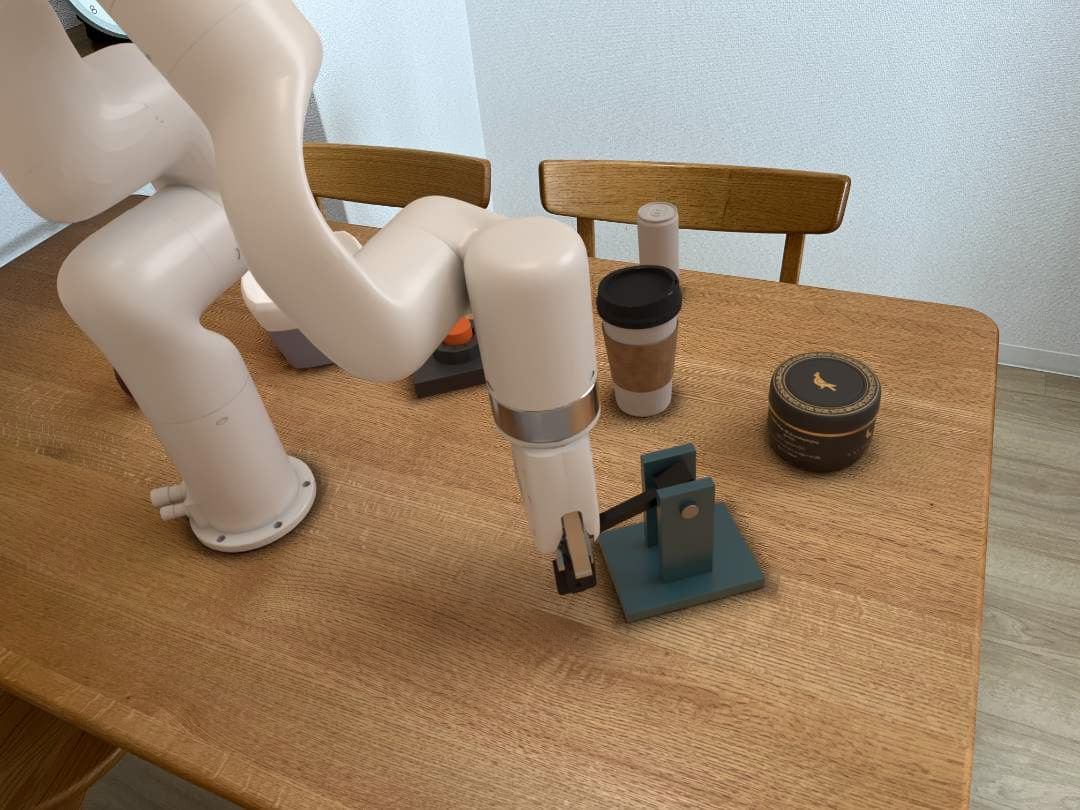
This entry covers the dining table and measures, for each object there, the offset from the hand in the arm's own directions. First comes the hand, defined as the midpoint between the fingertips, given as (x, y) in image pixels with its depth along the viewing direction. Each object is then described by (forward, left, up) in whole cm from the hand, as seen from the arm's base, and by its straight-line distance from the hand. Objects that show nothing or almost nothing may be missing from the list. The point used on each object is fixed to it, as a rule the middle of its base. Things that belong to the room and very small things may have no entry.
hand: (568, 559), depth 67 cm
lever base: (+10, 0, -4) cm, 10 cm away
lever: (+6, 0, +3) cm, 6 cm away
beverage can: (+22, +40, -5) cm, 46 cm away
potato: (-41, +44, -5) cm, 61 cm away
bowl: (-20, +47, -5) cm, 51 cm away
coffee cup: (+14, +22, -5) cm, 26 cm away
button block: (-4, +36, -4) cm, 37 cm away
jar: (+28, +10, -5) cm, 30 cm away
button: (-4, +36, -1) cm, 36 cm away
